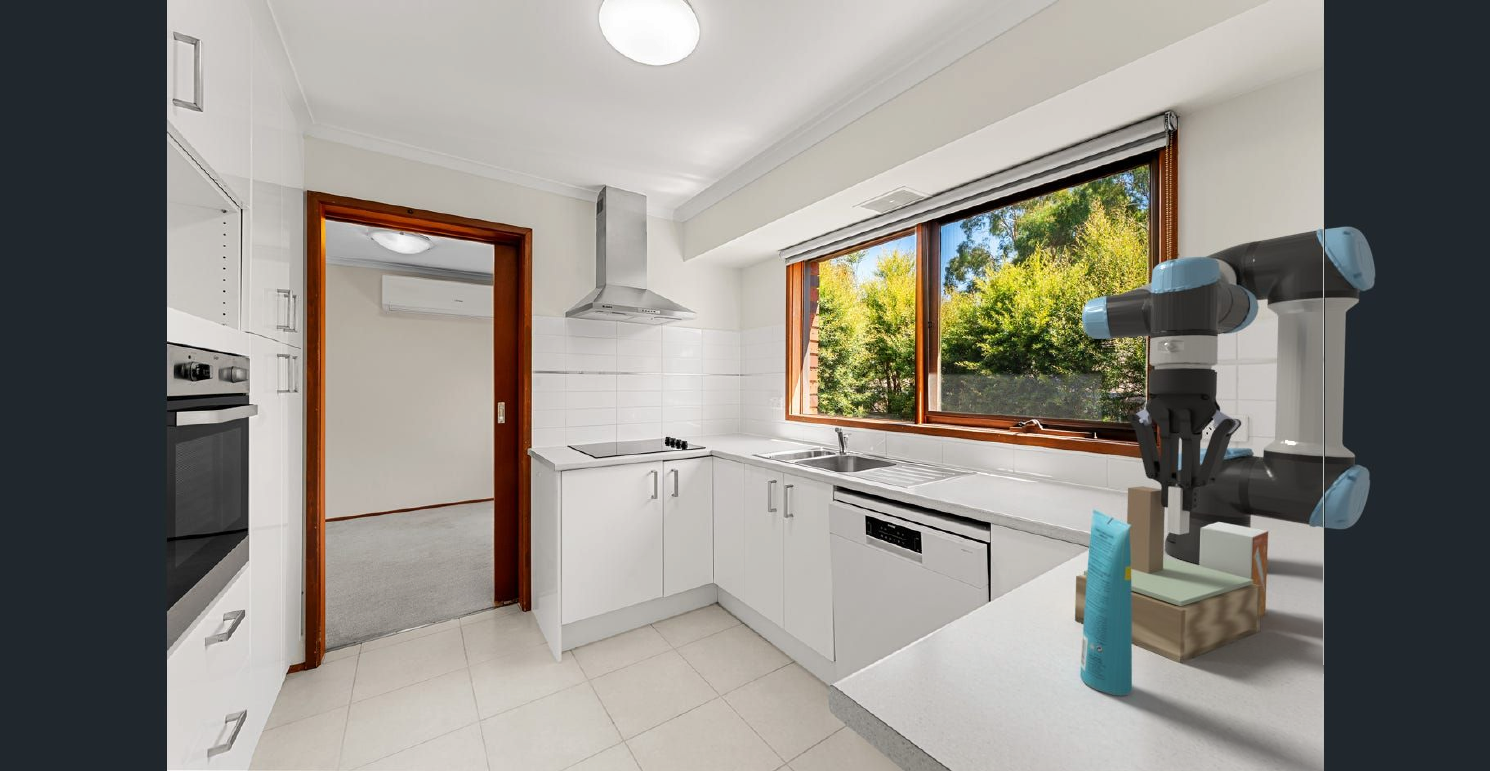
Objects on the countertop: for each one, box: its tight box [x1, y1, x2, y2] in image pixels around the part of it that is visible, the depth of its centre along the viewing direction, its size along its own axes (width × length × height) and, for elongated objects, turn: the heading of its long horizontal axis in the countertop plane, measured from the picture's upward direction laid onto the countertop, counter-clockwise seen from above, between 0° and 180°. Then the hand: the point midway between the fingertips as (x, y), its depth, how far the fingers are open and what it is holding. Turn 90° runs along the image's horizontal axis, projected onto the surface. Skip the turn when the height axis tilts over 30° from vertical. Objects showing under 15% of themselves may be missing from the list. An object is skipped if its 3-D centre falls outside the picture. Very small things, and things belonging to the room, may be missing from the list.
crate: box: [1074, 574, 1261, 664], centre depth 77 cm, size 22×13×6 cm, turn 117°
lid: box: [1083, 485, 1253, 606], centre depth 77 cm, size 20×12×13 cm, turn 117°
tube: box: [1079, 508, 1133, 696], centre depth 61 cm, size 7×5×19 cm, turn 178°
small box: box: [1198, 522, 1269, 617], centre depth 83 cm, size 8×6×13 cm
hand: (1178, 532), depth 76 cm, fingers closed
